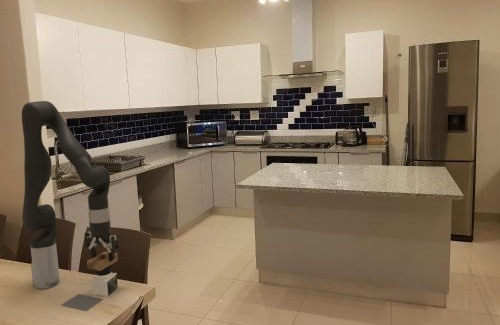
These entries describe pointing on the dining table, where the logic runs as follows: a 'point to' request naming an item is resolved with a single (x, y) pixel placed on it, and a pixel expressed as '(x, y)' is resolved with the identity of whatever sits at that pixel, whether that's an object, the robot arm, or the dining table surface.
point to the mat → (82, 302)
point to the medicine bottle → (104, 282)
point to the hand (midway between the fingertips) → (102, 259)
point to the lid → (100, 261)
